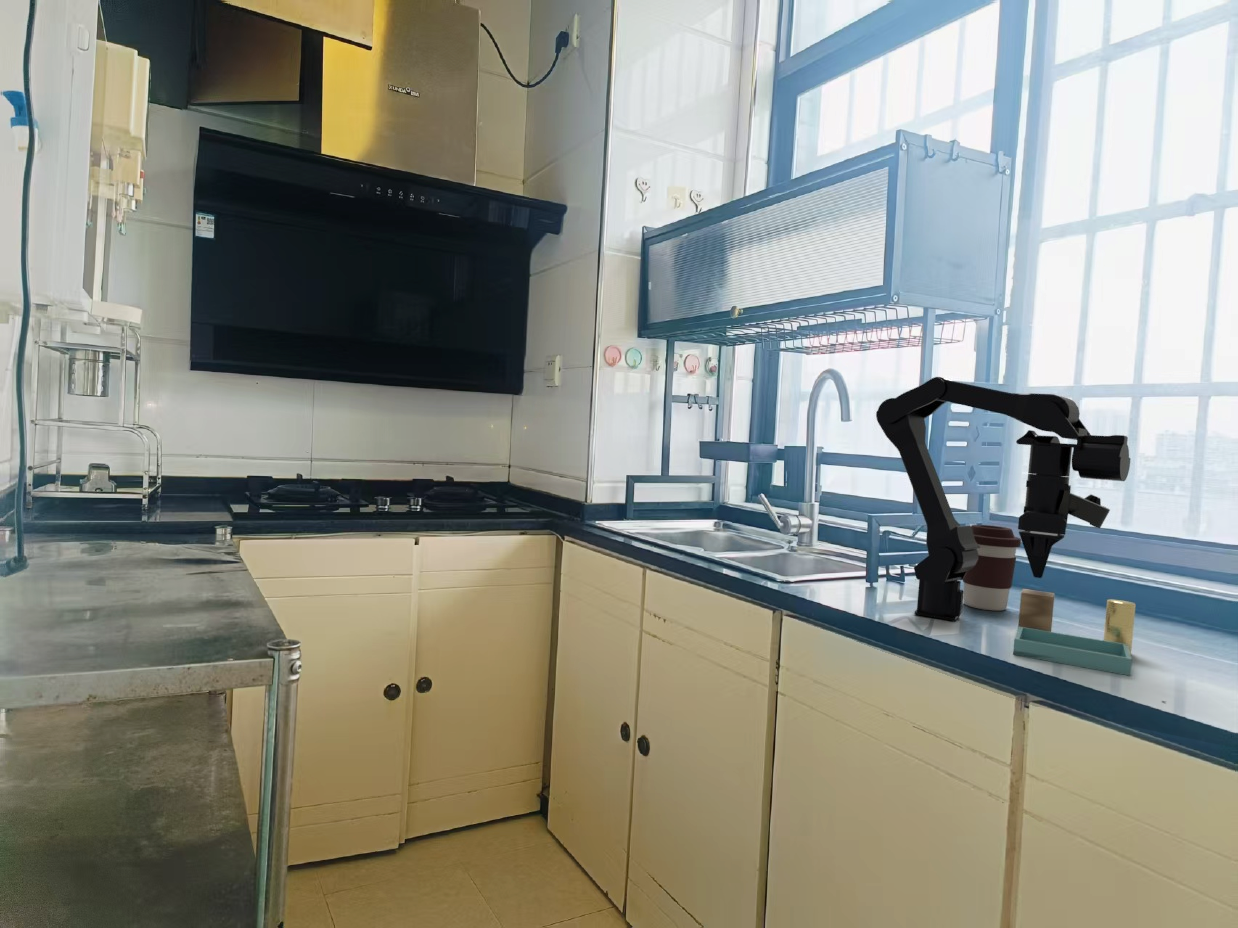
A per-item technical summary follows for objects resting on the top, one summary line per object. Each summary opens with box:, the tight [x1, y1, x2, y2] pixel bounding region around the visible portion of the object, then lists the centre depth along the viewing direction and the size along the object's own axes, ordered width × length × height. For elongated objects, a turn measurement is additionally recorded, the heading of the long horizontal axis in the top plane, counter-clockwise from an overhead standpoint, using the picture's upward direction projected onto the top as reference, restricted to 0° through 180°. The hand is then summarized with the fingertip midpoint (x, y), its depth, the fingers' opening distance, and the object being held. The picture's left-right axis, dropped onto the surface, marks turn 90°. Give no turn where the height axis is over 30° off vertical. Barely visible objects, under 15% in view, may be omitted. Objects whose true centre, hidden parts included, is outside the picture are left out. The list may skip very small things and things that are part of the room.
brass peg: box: [1103, 599, 1136, 655], centre depth 116 cm, size 4×4×8 cm
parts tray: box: [1012, 627, 1133, 676], centre depth 111 cm, size 14×10×2 cm
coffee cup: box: [962, 524, 1022, 612], centre depth 145 cm, size 10×10×15 cm
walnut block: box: [1017, 588, 1056, 632], centre depth 123 cm, size 4×4×7 cm
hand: (1039, 573), depth 123 cm, fingers open, 9 cm apart
